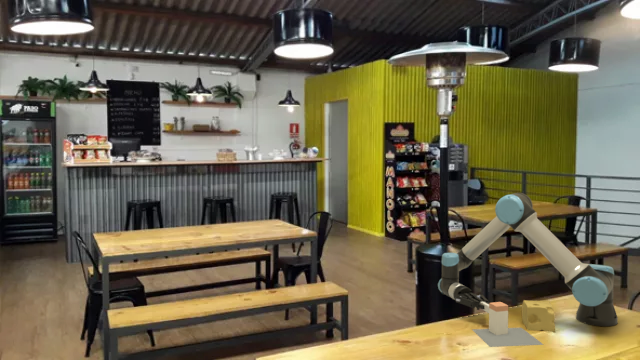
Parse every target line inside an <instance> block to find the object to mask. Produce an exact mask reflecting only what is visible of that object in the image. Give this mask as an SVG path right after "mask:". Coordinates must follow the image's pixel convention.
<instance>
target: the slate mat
mask: <svg viewBox="0 0 640 360" xmlns="http://www.w3.org/2000/svg"><path fill="white" fill-rule="evenodd" d="M471 330H472V331H473V332H474V334H476V335H477V336H478V337H479V338H480V339H481V340H482V341H483V342H484V343H485V344H486V345H487V346H488V347H489V348H496V347H498V348H499V347H501V348H502V347H519V346H520V347H522V346H542V345H544V344H545V343H544V344H543V343H542V342H541V341H540V340H538V338H536V337H534V336H533V335H532V334H530V333H529V331H527V330H525V329H524V328H522V327H508V334H501V335H495V334H494V333H492V332H490V331H489V328H478V329H477V328H476V329H471Z"/></svg>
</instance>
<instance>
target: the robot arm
mask: <svg viewBox="0 0 640 360" xmlns="http://www.w3.org/2000/svg"><path fill="white" fill-rule="evenodd" d="M494 211H495V217H494V218H493V219H491V221H489V223H488V224H486V226H485V227H483V228H482V229H481V230H480V231H479V232H478V233H477V234H476V235H475V236H474V237H473V238H471V240H469V241H468V242H467V243H466V244H465V246H463V247H462V248H461V249H460V250H459V251H458V252H457V253H455V252H444V253H443V254H442V255H441V278H440V279H439V281H438V283H437V287H438V288H437V289H438V290H439V292H440V293H441V294H442V295H444V296H447V297H449V298H451V300H454V301H455V303H458V304H461V305H463V306H466V307H468V308H471V309H475V308H476V310H477V311H480V310H483V311H484V312H486V313H488V314H489V300H488V299H487V298H486V297H485V296H484V294H482V293H481V294H479V295H477V294H476V293H474V292H473V291H472V289H470V288H469V287H467V286H465V285H463V284H462V283H460V282H459V281H460V280H459V279H460V272H461V271H462V270H464V269H467V268H469V266H471V264H472V263H473V262H474V261H475V260H476V259H477V258H478V257H479V256H480V255H482V253H484V251H486V250H487V249H489V247H490V246H491V245H492V244H494V243H495V242H496V241H497V240H498V239H499V238H500V237H502V236H503V234H505V233H506V232H507V231H508V230H509V229H510V228H511V229H512V230H513V231H514V232H519V233H521V234H522V235H523V236H524V237H525V238H526V239H527V240H528V241H529V242H530V244H532V245H533V246H534V247H535V248H536V249H537V250H538V252H540V253H541V254H542V256H543V257H545V258H546V259H547V260H548V261H549V263H550V264H551V265H552V266H553V267H554V268H555V269H556V270H557V271H558V272H559V273H560V275H562V277H564V284H565V285H566V286H567V287H568V288H569V289H570V290H571V291H572V295H573V297H574V299H575V300H576V301H577V302H578V303H579V305H578V307H577V309H576V315H575V318H576V320H577V321H578V322H581V323H584V324H587V325H590V326H596V327H597V326H598V327H612V326H613V327H614V326H616V325H617V324H618V320H619V319H618V315H617V311H616V309H615V305H614V286H615V285H614V283H615V282H614V279H615V278H614V277H615V270H614V268H613V267H612V266H610V265H604V264H592V263H584V262H582V261H581V260H579V259H578V257H576V255H574V253H573V252H571V251H570V249H568V248H567V247H566V246H565V244H564V243H563V242H562V241H561V240H560V239H559V238H558V237H557V236H556V235H555V234H554V233H553V232H551V230H550V229H549V228H547V226H545V224H543V223H542V221H541V220H540V219H538V212H536V210H535V209H534V205H533V202H532V199H531V197H529V196H528V195H526V194H525V193H522V192H515V193H511V194H506V195H504V196H502V197H501V198H499V200H498V201H497V202H496V204H495V208H494Z"/></svg>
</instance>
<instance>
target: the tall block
mask: <svg viewBox="0 0 640 360" xmlns="http://www.w3.org/2000/svg"><path fill="white" fill-rule="evenodd" d="M488 304H489V313H488V329H489V331H490V332H492V333H494V334H495V335H501V334H508V328H509V305H508V304H507V303H504V302H501V301H495V302H488Z"/></svg>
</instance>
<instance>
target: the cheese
mask: <svg viewBox="0 0 640 360" xmlns="http://www.w3.org/2000/svg"><path fill="white" fill-rule="evenodd" d="M521 318H522V319H521V320H522V324H523V325H524V326H525V327H526V331H537V332H538V331H539V332H540V331H543V332H551V333H554V334H555V333H556V323H555V319H556V318H555V312H554V307H553V305H552V303H551V301H550V300H525V299H523V301H522V304H521Z"/></svg>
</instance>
